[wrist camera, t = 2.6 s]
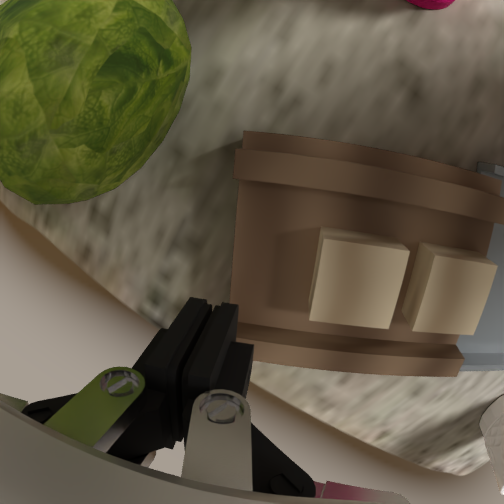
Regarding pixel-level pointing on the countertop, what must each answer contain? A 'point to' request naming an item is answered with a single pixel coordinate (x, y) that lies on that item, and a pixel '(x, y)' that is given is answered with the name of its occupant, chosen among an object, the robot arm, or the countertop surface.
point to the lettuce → (86, 92)
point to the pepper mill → (432, 3)
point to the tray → (489, 302)
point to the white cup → (495, 438)
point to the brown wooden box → (353, 219)
